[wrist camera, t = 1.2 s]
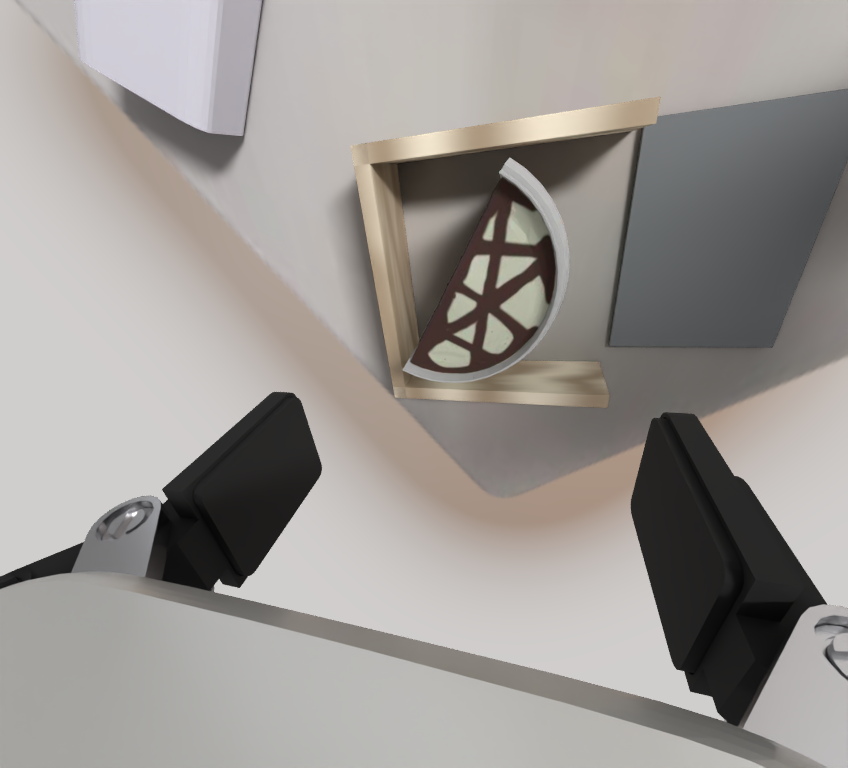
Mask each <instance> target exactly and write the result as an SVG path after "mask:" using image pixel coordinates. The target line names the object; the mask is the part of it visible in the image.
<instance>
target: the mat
mask: <svg viewBox="0 0 848 768" xmlns="http://www.w3.org/2000/svg"><path fill="white" fill-rule="evenodd" d="M847 160H848V89H843V90H836V91H830V92H823V93H816V94H809V95H802V96H795V97H788V98H781V99H775V100H768V101H761V102H754V103H747V104H740V105H733V106H726V107H720V108H713V109H706V110H699V111H692V112H685V113H678V114H671V115H665V116H658V117H657V122H656V124H653V125H650V126H647V127H643V128H642V134H641V140H640V147H639V153H638V160H637V166H636V173H635V179H634V185H633V192H632V198H631V205H630V211H629V217H628V224H627V230H626V237H625V243H624V249H623V256H622V262H621V269H620V275H619V282H618V288H617V294H616V301H615V307H614V314H613V320H612V326H611V333H610V339H609V346H622V347H773V345H774V342H775V340H776V337H777V335H778V332H779V330H780V327H781V325H782V322H783V320H784V317H785V315H786V312H787V310H788V307H789V305H790V302H791V300H792V297H793V295H794V292H795V290H796V287H797V285H798V282H799V280H800V277H801V275H802V272H803V270H804V267H805V265H806V263H807V260H808V258H809V255H810V253H811V250H812V248H813V245H814V243H815V240H816V238H817V235H818V233H819V230H820V228H821V225H822V223H823V220H824V218H825V215H826V213H827V210H828V208H829V205H830V203H831V200H832V198H833V195H834V193H835V190H836V188H837V185H838V183H839V180H840V178H841V175H842V173H843V170H844V168H845V165H846V163H847Z"/></svg>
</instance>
